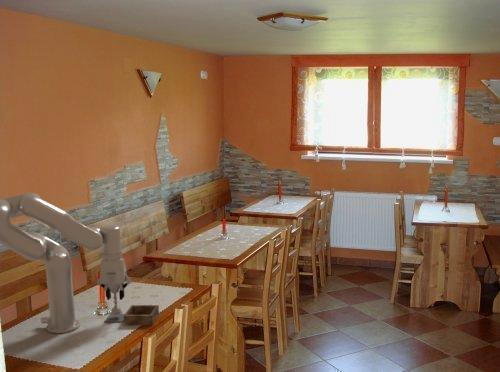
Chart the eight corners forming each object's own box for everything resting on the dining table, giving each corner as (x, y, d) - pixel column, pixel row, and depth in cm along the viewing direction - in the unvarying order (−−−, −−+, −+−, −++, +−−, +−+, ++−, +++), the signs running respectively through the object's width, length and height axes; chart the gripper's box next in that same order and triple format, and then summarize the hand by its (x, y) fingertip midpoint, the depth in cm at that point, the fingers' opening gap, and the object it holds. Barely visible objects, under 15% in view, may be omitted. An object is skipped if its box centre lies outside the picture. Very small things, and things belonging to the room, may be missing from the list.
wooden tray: (124, 325, 228) (123, 315, 227) (132, 314, 239) (131, 305, 238) (152, 325, 227) (152, 315, 226) (159, 314, 238) (158, 305, 238)
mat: (104, 322, 231) (104, 321, 231) (110, 314, 239) (110, 314, 239) (123, 322, 231) (123, 321, 231) (128, 314, 238) (128, 313, 238)
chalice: (122, 316, 231) (119, 273, 228) (105, 316, 231) (102, 274, 228) (126, 309, 238) (123, 268, 235) (110, 309, 238) (107, 268, 235)
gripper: (88, 258, 227) (92, 302, 230) (130, 258, 226) (133, 302, 229) (95, 253, 235) (98, 295, 238) (135, 253, 234) (137, 295, 237)
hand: (115, 298), depth 233 cm, fingers closed on chalice, 4 cm apart
